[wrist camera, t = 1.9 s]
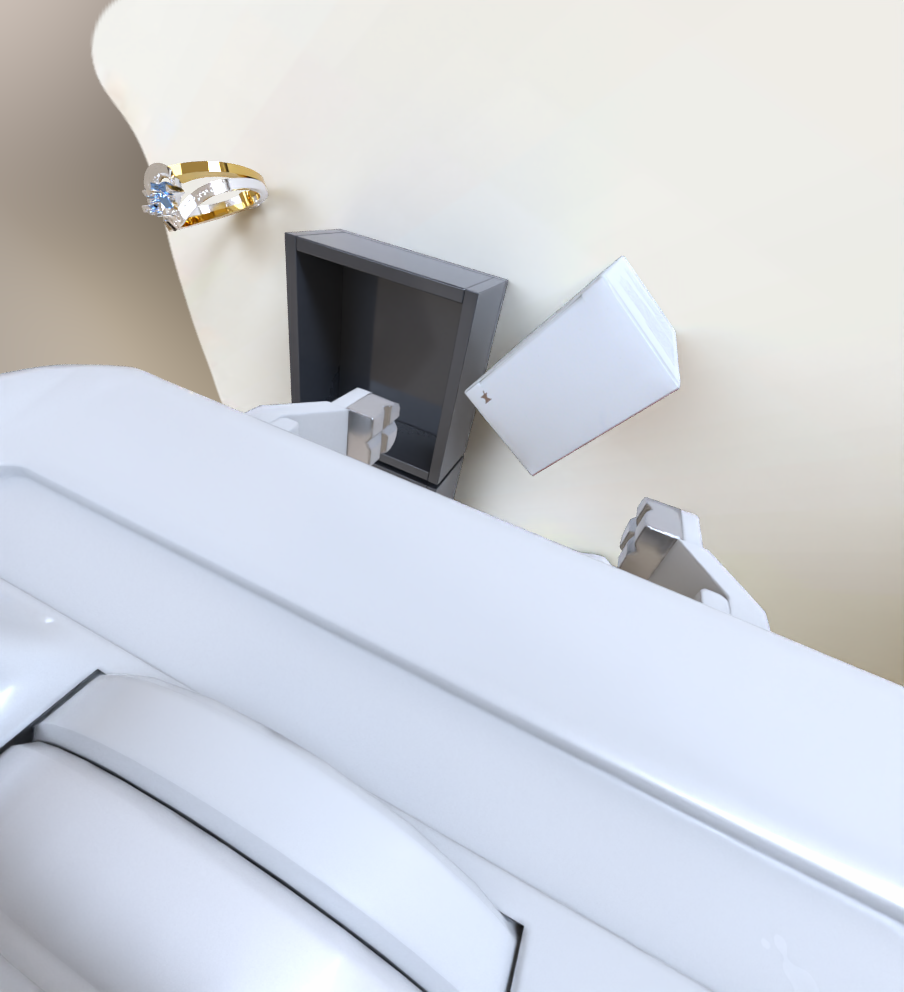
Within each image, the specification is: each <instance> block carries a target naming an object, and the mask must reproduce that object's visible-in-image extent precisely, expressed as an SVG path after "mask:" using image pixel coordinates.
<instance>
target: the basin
mask: <svg viewBox="0 0 904 992" xmlns="http://www.w3.org/2000/svg"><path fill="white" fill-rule="evenodd" d="M285 252H286V276H287V300H288V325H289V349H290V373H291V397H292V403H306V402H321V401H328V402H333V401H335V400H336V399H338V398H340V397H342V396H343V395H345V394H347V393H349V392H350V391H352V390H354V389H356V388H361V389H364V390H367V391H370V392H372V393H374V394H376V395H379V396H381V397H384V398H386V399H389V400H391V401H394V402H396V403H399V406H400V412H399V417H398V418H397V419H396V420H394V422H395V424H396V426H397V435H396V438H395V442H394V443H393V445H392V447H391V449H389V450H388V451H387V452H386V453H381V454H380V457H379V459H378V460H379V461H381V462H384V463H386V464H388V465H391V466H393V467H396V468H398V469H400V470H403V471H405V472H407V473H410V474H412V475H415V476H417V477H419V478H422V479H424V480H428V482H431V483H433V484H435V485H438V484H439V483H440V481H441V480H442V479H443V478H444V477H445V475H446V474H447V473H448V472H449V471H450V469H451V468H452V467H453V466H454V465H455V464H456V462H457V461H458V460H459V459H460V458H461V456H462V455H463V454H464V453H465V451H466V447H467V443H468V439H469V435H470V431H471V427H472V423H473V419H474V415H475V411H476V407H475V406H474V404H473V403H472V402H471V401H470V399H469V398H468V397H467V396H466V394H465V390H466V389H467V388H469V387H470V386H471V385H472V384H473V383H474V382H475V381H477V380H478V379H479V378H480V377H481V376H482V375H483V374H485V372H486V368H487V364H488V360H489V356H490V352H491V348H492V344H493V340H494V336H495V332H496V328H497V324H498V320H499V316H500V312H501V308H502V304H503V300H504V296H505V292H506V288H507V284H508V280H507V279H504V278H500V277H497V276H494V275H490V274H487V273H484V272H480V271H477V270H474V269H471V268H467V267H464V266H461V265H457V264H454V263H451V262H447V261H444V260H441V259H437V258H434V257H431V256H428V255H424V254H421V253H418V252H414V251H411V250H408V249H404V248H401V247H398V246H394V245H391V244H388V243H385V242H381V241H378V240H375V239H371V238H368V237H365V236H361V235H358V234H355V233H351V232H348V231H345V230H342V229H332V230H316V231H300V232H285Z"/></svg>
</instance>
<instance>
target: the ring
mask: <svg viewBox="0 0 904 992" xmlns="http://www.w3.org/2000/svg"><path fill="white" fill-rule="evenodd" d="M204 177H229V179H223V180H218V181H214V182H211V183H208V184H206V185H204V186H202V187H200V188H198V189H197V190H195V191H194V192H193V193H191V194H190V195H189V196H188V197H187V198H186V199H185V200H184V202H183V203H182V204H181V206H180V207H179V205H180V202H181V196H182V195H183V194H184V193H185V192H184V190H183V189H182V186H181V183H186V182H188V181H191V180H194V179H198V178H204ZM163 178H168V179H169V180H170V181H171V183H169V182H162V183H160V182H161V180H162V179H163ZM144 189H145V190H142V192H143V194H144V195H145V196H146V197H147V201H148V204H149V205H145V206H142V208H143V211H144V212H148V213H149V214H150V215H155V216H156V217H161V216H164V224H165V225H166V227H167V228H168V230H169V232H171V231H176V230H180V229H184V228H188V227H191V226H195V225H199V224H202V223H206V222H210V221H213V220H217V219H220V218H223V217H226V216H230V215H233V214H236V213H238V212H241V211H244V210H247V209H249V208H256V207H258V206H260V203H262V202H263V201H265V200H266V199H267V198H268V192H267V189H266V185H265V182H264V179H263V177H262V176H261V175H260V174H259V173H257V172H255V171H254V170H251V169H249V168H246V167H243V166H240V165H236V164H231V163H224V162H214V161H197V162H187V163H181V164H176V165H172V166H166V165H164V164H161V163H154V164H152V165H150V166H149V167H148V168H147V170H146V172H145V177H144ZM233 190H250V191H244V192H241V193H240V194H239V196H238V197H235V198H233V199H230V200H227V201H224V202H220V203H216V204H212V205H207V206H201V207H198V206H199V205H200V204H201V203H202V202H204V201H205V200H207V199H208V198H210V197H212V196H214V195H217V194H220V193H223V192H227V191H233Z"/></svg>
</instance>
